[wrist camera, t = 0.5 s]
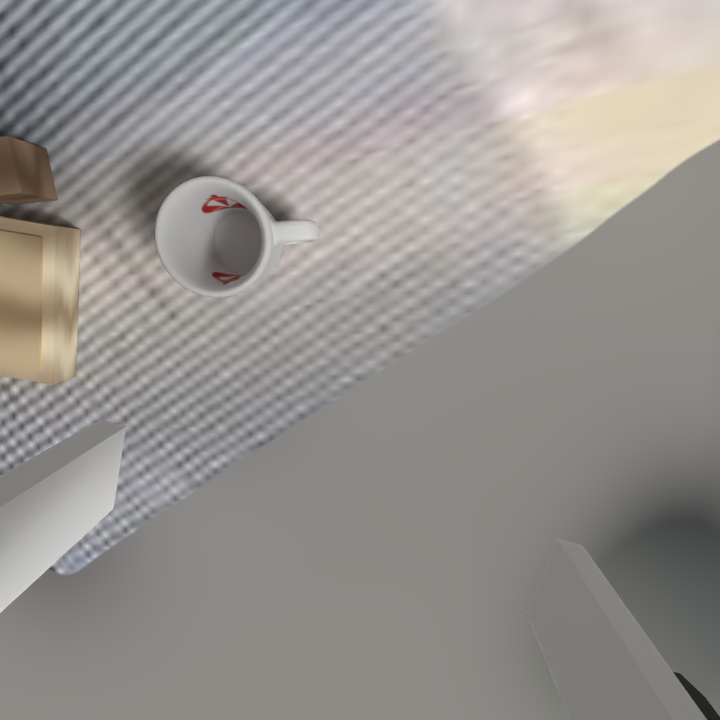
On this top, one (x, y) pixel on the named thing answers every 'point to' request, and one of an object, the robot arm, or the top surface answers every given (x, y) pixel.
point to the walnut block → (24, 173)
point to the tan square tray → (38, 300)
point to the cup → (222, 236)
